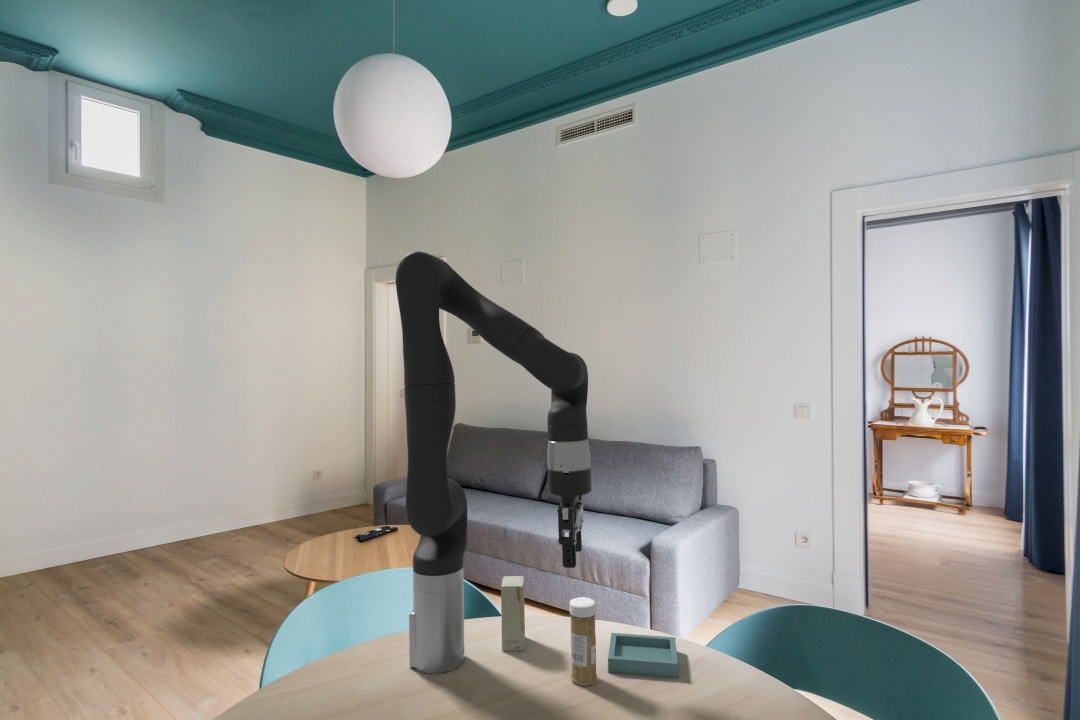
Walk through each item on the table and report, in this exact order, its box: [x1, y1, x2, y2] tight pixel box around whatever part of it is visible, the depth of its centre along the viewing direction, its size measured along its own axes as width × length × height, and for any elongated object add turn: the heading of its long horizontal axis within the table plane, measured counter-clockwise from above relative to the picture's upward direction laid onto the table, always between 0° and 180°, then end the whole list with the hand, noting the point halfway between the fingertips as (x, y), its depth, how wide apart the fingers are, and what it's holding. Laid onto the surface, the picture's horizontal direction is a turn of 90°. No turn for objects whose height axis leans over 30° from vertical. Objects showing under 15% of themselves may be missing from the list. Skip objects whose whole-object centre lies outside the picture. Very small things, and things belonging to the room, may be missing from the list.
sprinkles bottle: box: [569, 596, 598, 687], centre depth 99 cm, size 5×5×14 cm
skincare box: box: [500, 575, 526, 651], centre depth 113 cm, size 6×4×12 cm
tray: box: [607, 632, 679, 679], centre depth 105 cm, size 12×10×2 cm
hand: (572, 558), depth 100 cm, fingers open, 8 cm apart
